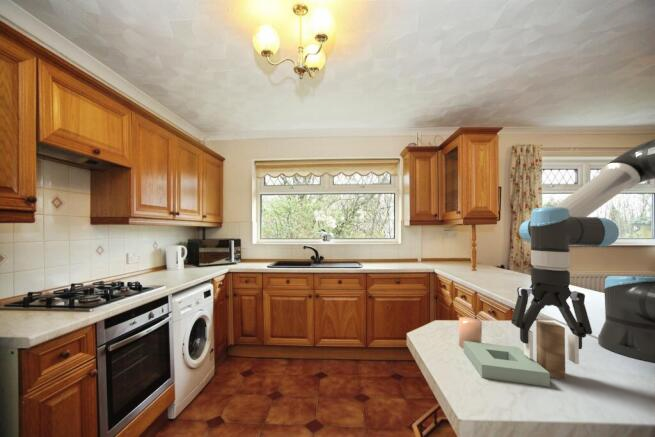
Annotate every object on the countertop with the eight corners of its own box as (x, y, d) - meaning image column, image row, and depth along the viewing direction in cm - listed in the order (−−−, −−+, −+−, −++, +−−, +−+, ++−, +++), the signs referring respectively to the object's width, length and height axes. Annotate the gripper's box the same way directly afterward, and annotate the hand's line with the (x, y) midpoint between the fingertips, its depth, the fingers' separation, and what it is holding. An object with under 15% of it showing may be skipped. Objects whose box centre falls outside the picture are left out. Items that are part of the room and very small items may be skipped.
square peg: (554, 370, 67) (554, 322, 67) (565, 378, 63) (564, 327, 63) (536, 368, 67) (536, 320, 68) (546, 376, 63) (545, 326, 64)
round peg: (477, 344, 81) (477, 318, 82) (484, 352, 75) (485, 324, 76) (456, 342, 82) (456, 316, 83) (462, 350, 76) (462, 322, 77)
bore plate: (517, 358, 73) (517, 346, 73) (549, 386, 59) (549, 373, 59) (463, 351, 75) (463, 341, 76) (481, 377, 62) (481, 364, 62)
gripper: (588, 268, 68) (589, 357, 67) (495, 263, 72) (495, 347, 71) (613, 273, 61) (615, 372, 59) (508, 267, 65) (508, 360, 64)
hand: (550, 358), depth 65 cm, fingers open, 9 cm apart
